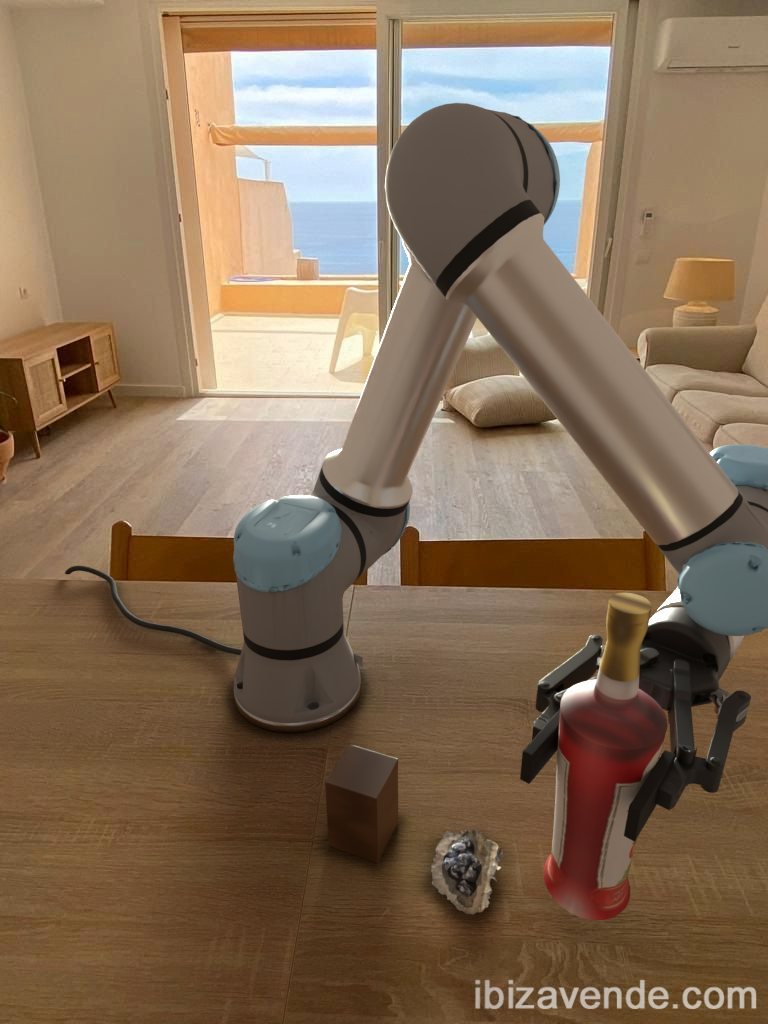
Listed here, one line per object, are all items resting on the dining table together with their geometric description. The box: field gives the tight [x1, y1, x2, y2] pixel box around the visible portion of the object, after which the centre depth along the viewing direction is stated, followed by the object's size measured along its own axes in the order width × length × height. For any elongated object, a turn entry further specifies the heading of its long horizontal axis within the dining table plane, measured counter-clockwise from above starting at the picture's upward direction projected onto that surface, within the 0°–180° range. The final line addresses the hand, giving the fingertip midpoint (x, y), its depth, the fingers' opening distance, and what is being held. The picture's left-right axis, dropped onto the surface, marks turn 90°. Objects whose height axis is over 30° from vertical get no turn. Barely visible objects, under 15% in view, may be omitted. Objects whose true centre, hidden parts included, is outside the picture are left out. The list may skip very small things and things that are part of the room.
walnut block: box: [324, 743, 399, 864], centre depth 64 cm, size 5×5×8 cm
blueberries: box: [430, 828, 504, 916], centre depth 61 cm, size 7×8×2 cm
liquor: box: [543, 592, 669, 921], centre depth 52 cm, size 7×7×28 cm
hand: (576, 794), depth 48 cm, fingers closed on liquor, 7 cm apart
